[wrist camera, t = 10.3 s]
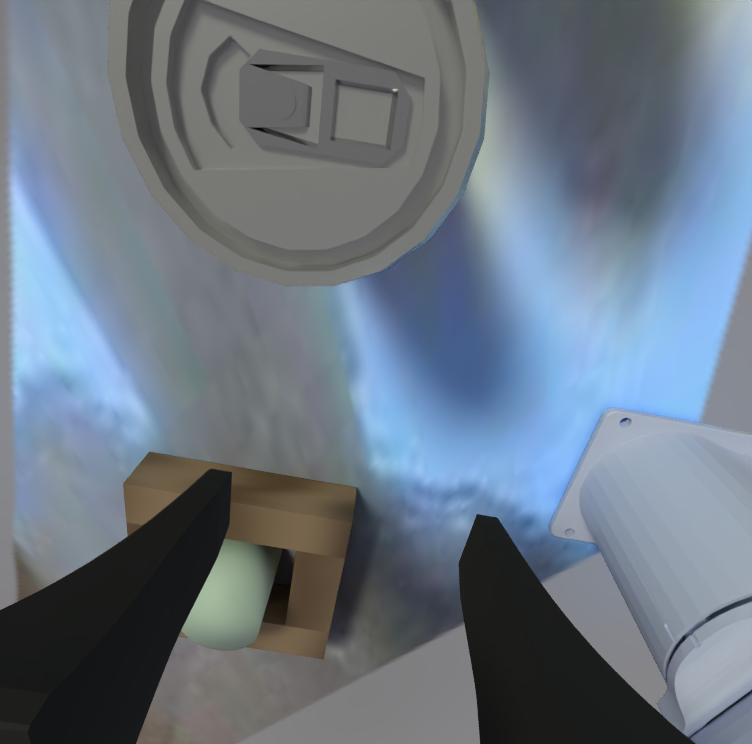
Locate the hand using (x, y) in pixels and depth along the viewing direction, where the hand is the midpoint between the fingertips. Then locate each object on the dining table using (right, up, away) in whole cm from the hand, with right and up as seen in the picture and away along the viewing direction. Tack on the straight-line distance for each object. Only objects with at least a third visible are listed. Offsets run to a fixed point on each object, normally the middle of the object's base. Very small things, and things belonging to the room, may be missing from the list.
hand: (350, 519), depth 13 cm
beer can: (0, +13, +4) cm, 14 cm away
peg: (-7, -6, +13) cm, 16 cm away
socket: (-7, -6, +13) cm, 16 cm away
